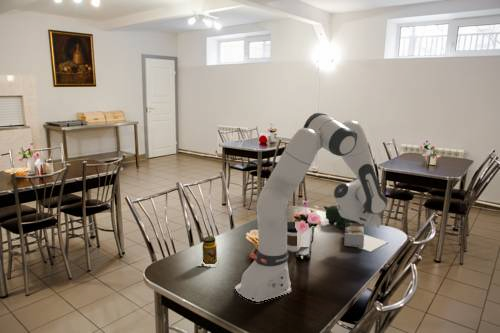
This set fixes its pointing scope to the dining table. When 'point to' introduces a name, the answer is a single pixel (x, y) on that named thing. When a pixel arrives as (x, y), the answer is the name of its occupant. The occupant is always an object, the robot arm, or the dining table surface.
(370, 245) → the mat
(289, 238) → the coffee cup
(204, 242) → the condiment
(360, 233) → the coffee box
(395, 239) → the dining table surface
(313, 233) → the food container
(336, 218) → the toy figurine
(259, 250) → the robot arm
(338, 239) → the dining table surface
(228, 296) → the dining table surface
